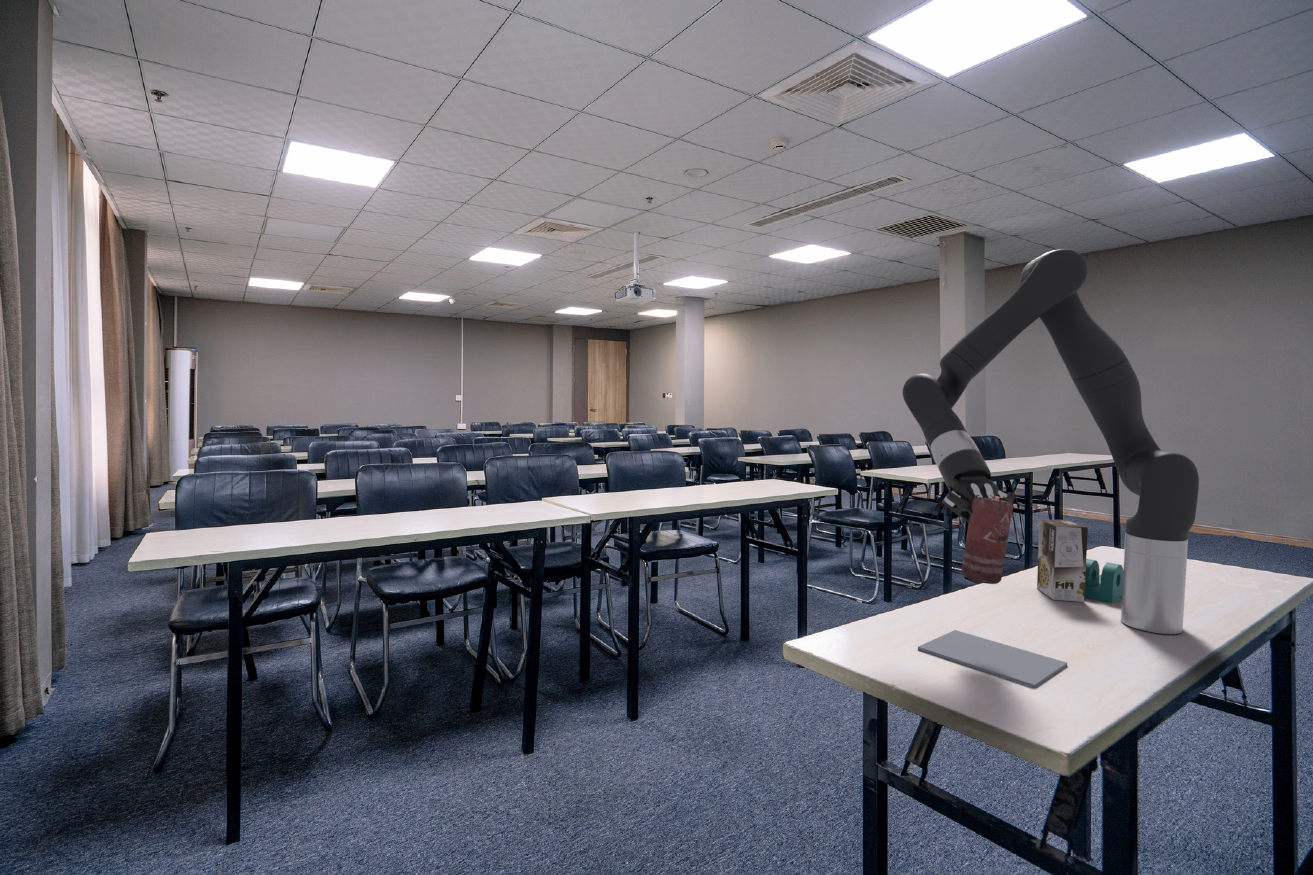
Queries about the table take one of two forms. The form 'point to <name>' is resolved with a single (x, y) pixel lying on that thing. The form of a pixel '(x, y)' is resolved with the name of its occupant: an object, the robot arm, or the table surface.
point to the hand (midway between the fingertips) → (1000, 542)
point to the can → (986, 539)
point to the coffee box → (1062, 559)
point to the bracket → (1103, 581)
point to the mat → (994, 658)
